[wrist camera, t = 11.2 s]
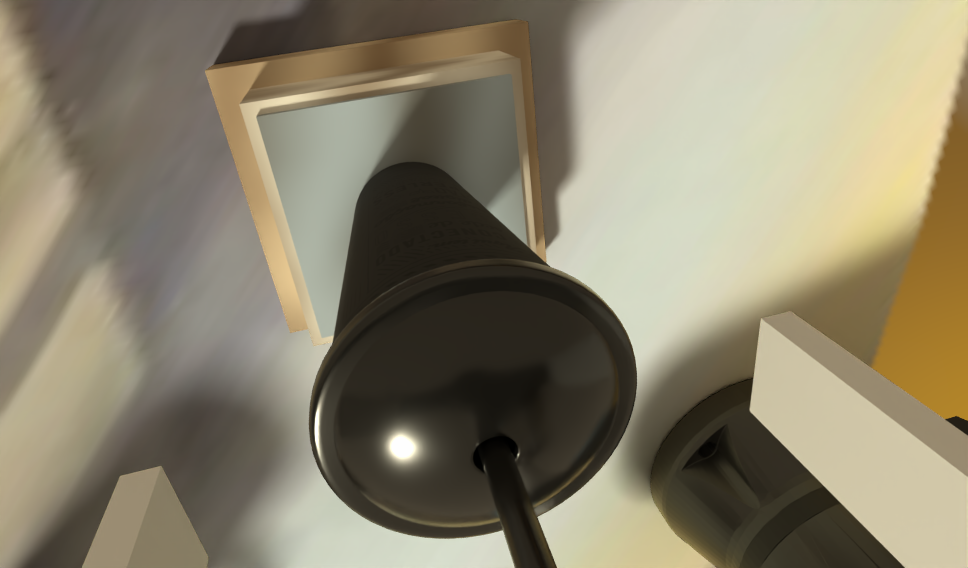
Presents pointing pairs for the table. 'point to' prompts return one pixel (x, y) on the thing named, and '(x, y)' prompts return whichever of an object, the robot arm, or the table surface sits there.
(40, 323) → the table surface
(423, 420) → the drinking cup
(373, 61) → the plinth
